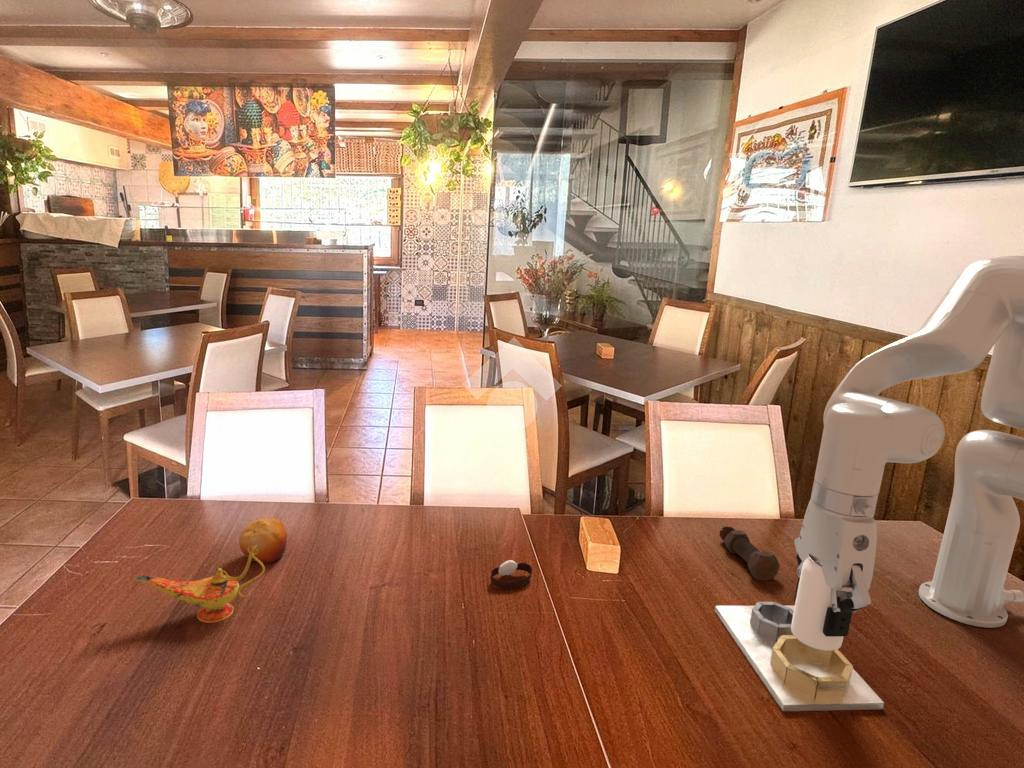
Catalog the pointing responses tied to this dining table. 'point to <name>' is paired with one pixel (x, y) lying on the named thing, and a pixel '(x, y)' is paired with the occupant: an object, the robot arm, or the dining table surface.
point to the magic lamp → (206, 591)
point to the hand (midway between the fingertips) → (819, 617)
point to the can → (814, 609)
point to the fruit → (264, 539)
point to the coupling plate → (795, 662)
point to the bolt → (750, 554)
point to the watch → (507, 569)
